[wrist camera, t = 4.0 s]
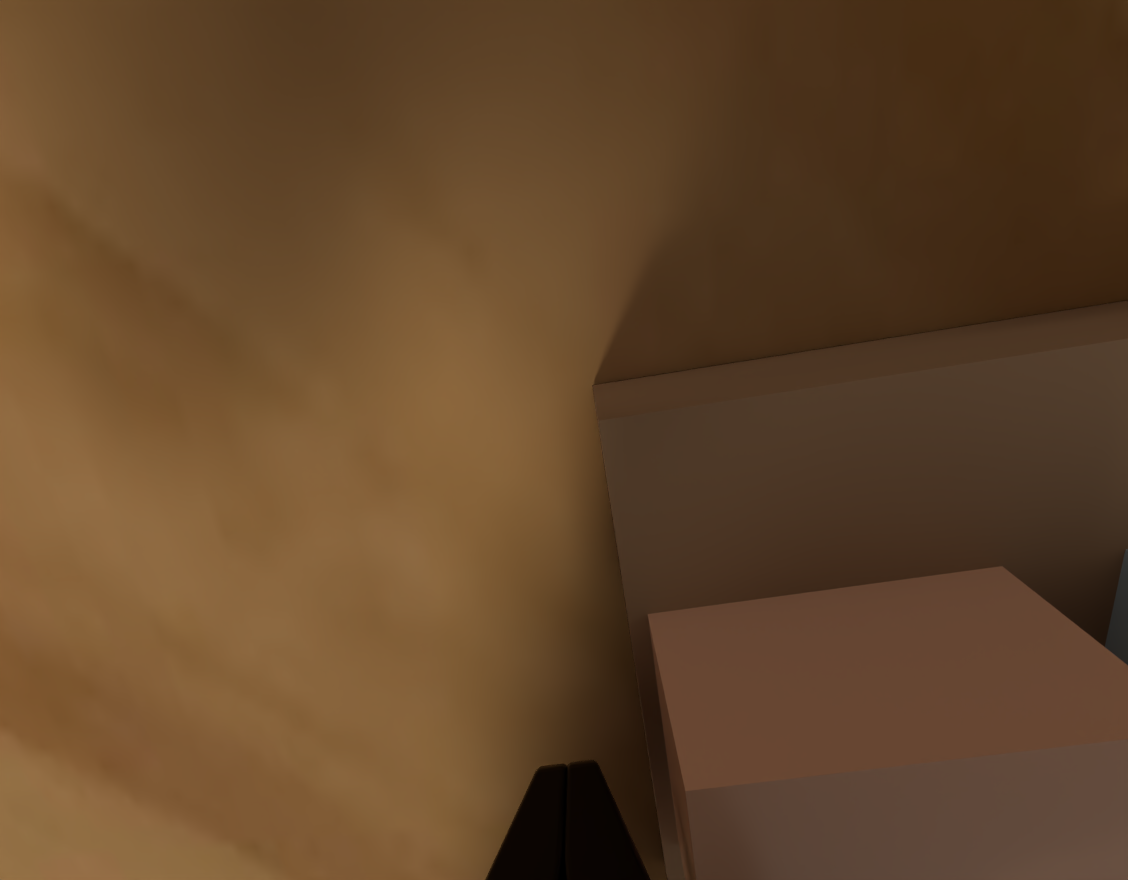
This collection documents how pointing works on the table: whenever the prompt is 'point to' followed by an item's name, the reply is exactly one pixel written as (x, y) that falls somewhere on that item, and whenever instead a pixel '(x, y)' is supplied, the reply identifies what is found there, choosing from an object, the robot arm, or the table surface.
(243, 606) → the table surface
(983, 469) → the board
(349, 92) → the table surface
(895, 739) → the terracotta tile
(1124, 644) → the slate tile
